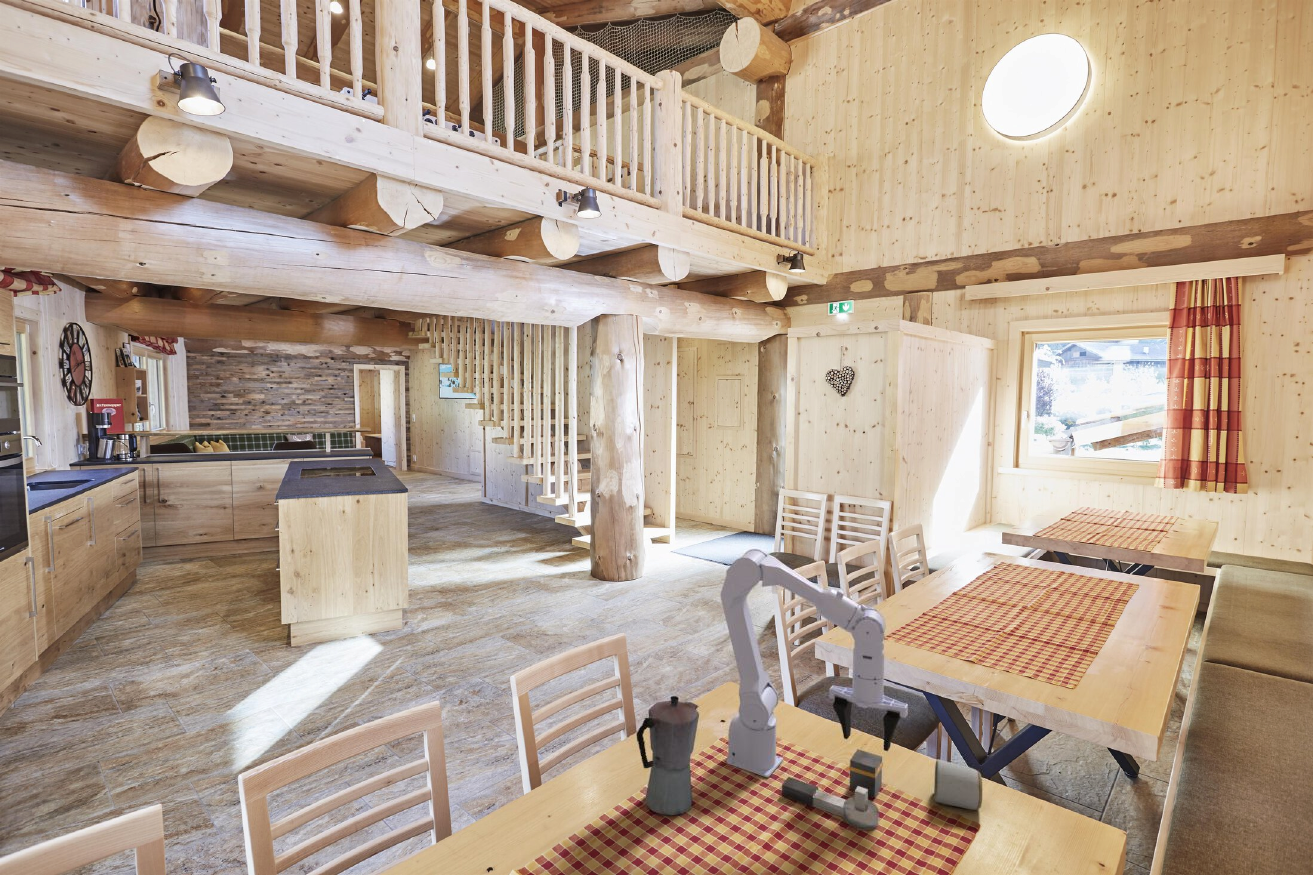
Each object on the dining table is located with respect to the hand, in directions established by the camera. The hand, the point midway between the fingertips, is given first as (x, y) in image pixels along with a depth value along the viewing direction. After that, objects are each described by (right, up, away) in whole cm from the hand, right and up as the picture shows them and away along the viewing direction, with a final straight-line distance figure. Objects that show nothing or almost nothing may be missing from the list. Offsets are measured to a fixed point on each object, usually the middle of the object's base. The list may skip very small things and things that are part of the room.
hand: (866, 742), depth 124 cm
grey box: (0, -9, 0) cm, 9 cm away
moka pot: (-39, -9, -5) cm, 40 cm away
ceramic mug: (+16, -10, -3) cm, 19 cm away
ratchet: (-9, -9, -6) cm, 14 cm away
